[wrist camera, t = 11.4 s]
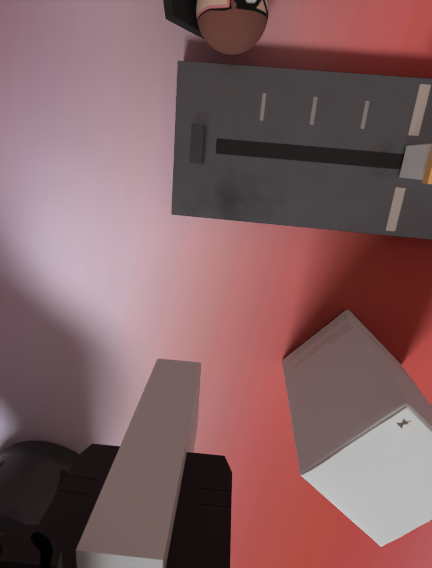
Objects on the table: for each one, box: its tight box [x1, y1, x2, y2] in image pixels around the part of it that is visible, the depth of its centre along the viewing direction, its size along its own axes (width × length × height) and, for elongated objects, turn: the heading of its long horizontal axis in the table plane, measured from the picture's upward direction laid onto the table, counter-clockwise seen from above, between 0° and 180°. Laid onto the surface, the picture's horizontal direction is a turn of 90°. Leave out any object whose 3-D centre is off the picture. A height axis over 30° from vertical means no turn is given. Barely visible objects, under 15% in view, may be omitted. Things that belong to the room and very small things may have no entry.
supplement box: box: [282, 309, 432, 547], centre depth 31 cm, size 9×9×15 cm
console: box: [172, 61, 432, 240], centre depth 30 cm, size 28×12×3 cm, turn 85°
